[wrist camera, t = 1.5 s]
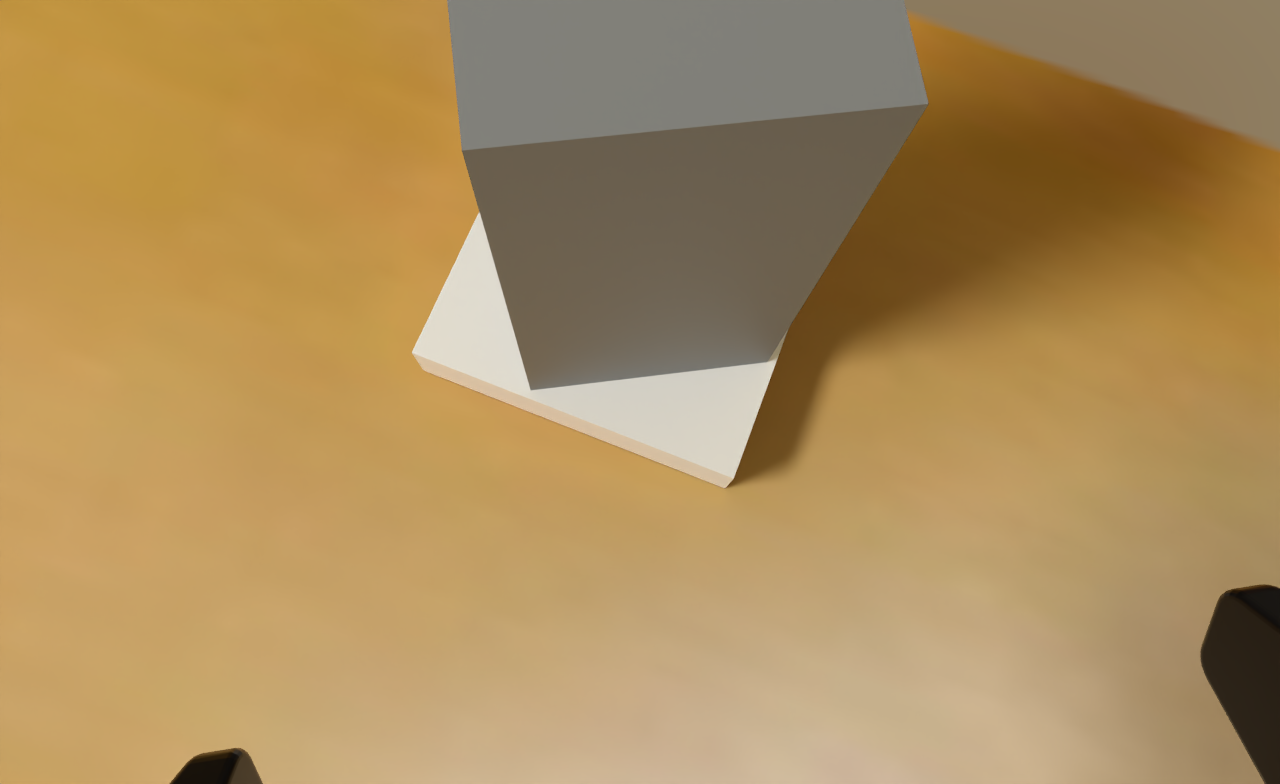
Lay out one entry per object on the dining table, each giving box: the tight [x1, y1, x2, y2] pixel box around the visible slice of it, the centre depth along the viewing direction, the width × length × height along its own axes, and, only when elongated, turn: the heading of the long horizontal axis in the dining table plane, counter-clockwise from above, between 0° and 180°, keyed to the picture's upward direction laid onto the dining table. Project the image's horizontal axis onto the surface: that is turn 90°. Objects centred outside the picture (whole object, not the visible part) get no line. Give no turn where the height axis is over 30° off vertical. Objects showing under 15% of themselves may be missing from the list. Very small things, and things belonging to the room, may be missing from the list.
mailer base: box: [412, 212, 789, 488], centre depth 21 cm, size 8×8×5 cm
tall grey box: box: [447, 0, 928, 390], centre depth 17 cm, size 6×6×11 cm
